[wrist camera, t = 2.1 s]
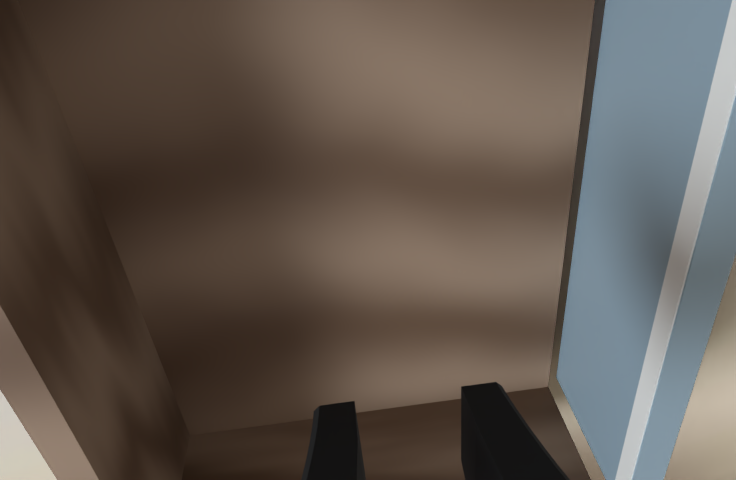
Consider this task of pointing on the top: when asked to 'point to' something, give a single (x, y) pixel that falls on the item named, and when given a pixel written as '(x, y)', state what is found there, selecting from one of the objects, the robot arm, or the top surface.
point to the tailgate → (651, 227)
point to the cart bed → (281, 227)
